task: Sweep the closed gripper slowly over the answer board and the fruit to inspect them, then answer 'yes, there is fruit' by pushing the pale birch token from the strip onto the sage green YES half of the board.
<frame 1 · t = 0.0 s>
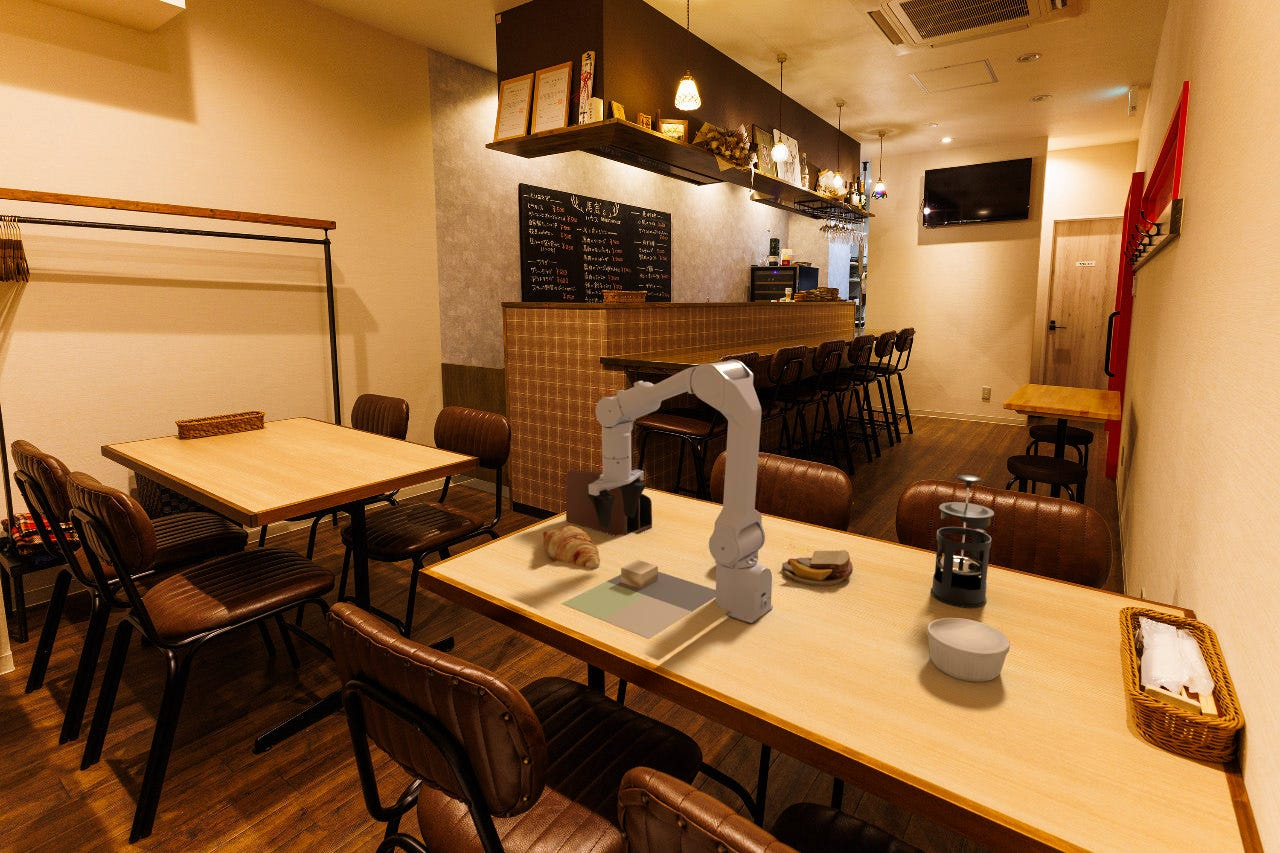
hand: (617, 521, 136), 10 cm above the table, tool pointing down, fingers open, 7 cm apart
letter holder: (608, 526, 164), on the table
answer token: (639, 581, 129), point 1 cm above the table, touching answer board
answer board: (643, 602, 122), on the table
croissant: (569, 559, 144), on the table
toy sandwich meal: (816, 575, 135), on the table
french press: (959, 596, 125), on the table
fruit: (737, 572, 136), on the table
ramekin: (964, 667, 101), on the table
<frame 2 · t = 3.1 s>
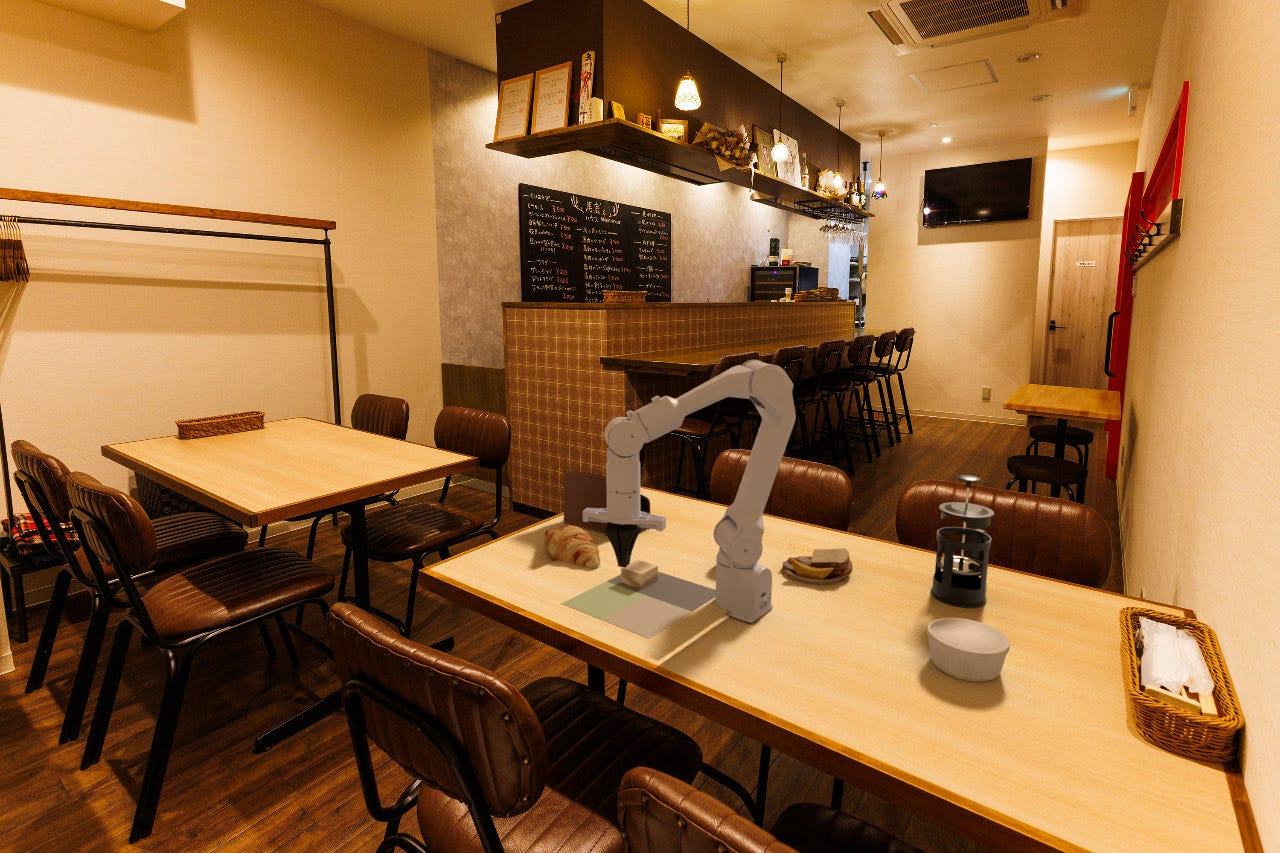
hand: (624, 565, 116), 9 cm above the table, tool pointing down, fingers closed
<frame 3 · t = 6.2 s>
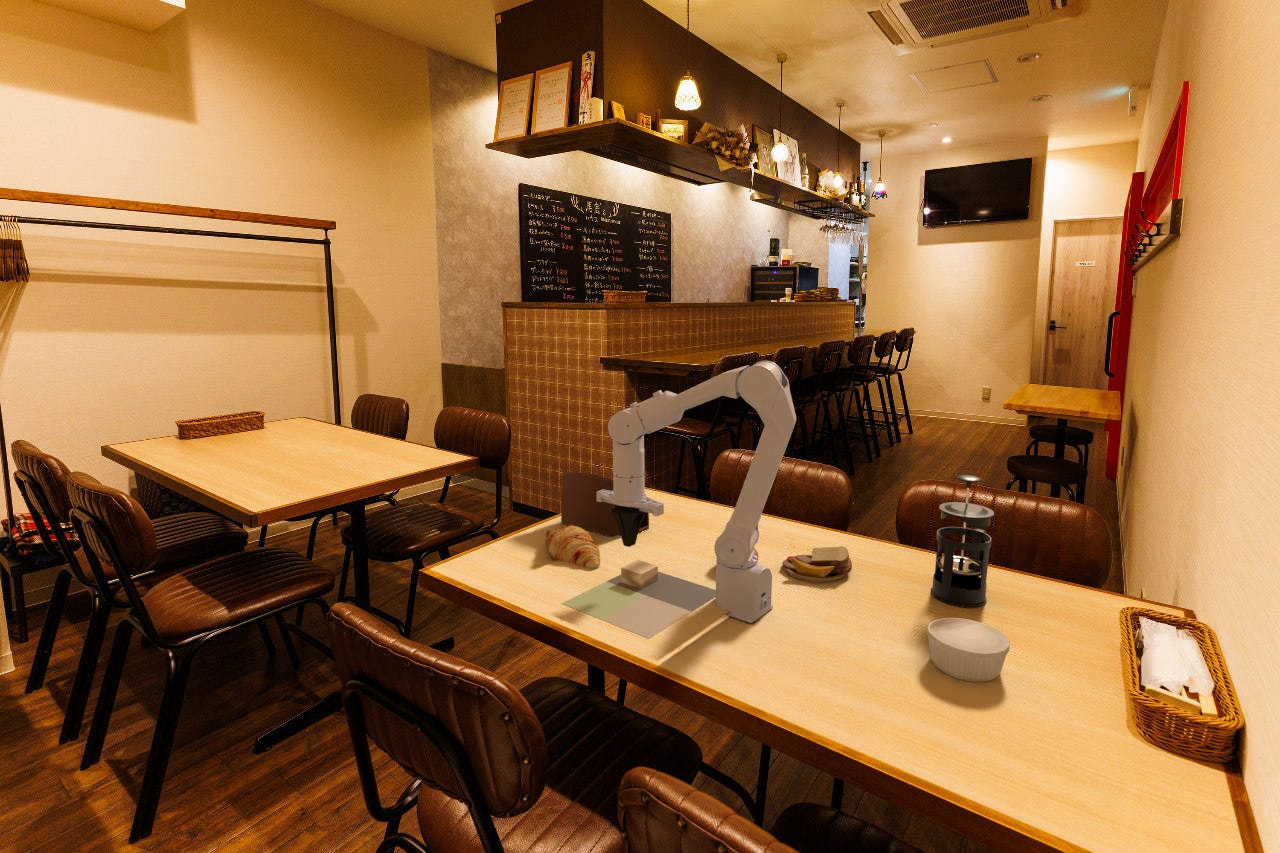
hand: (629, 544, 125), 9 cm above the table, tool pointing down, fingers closed
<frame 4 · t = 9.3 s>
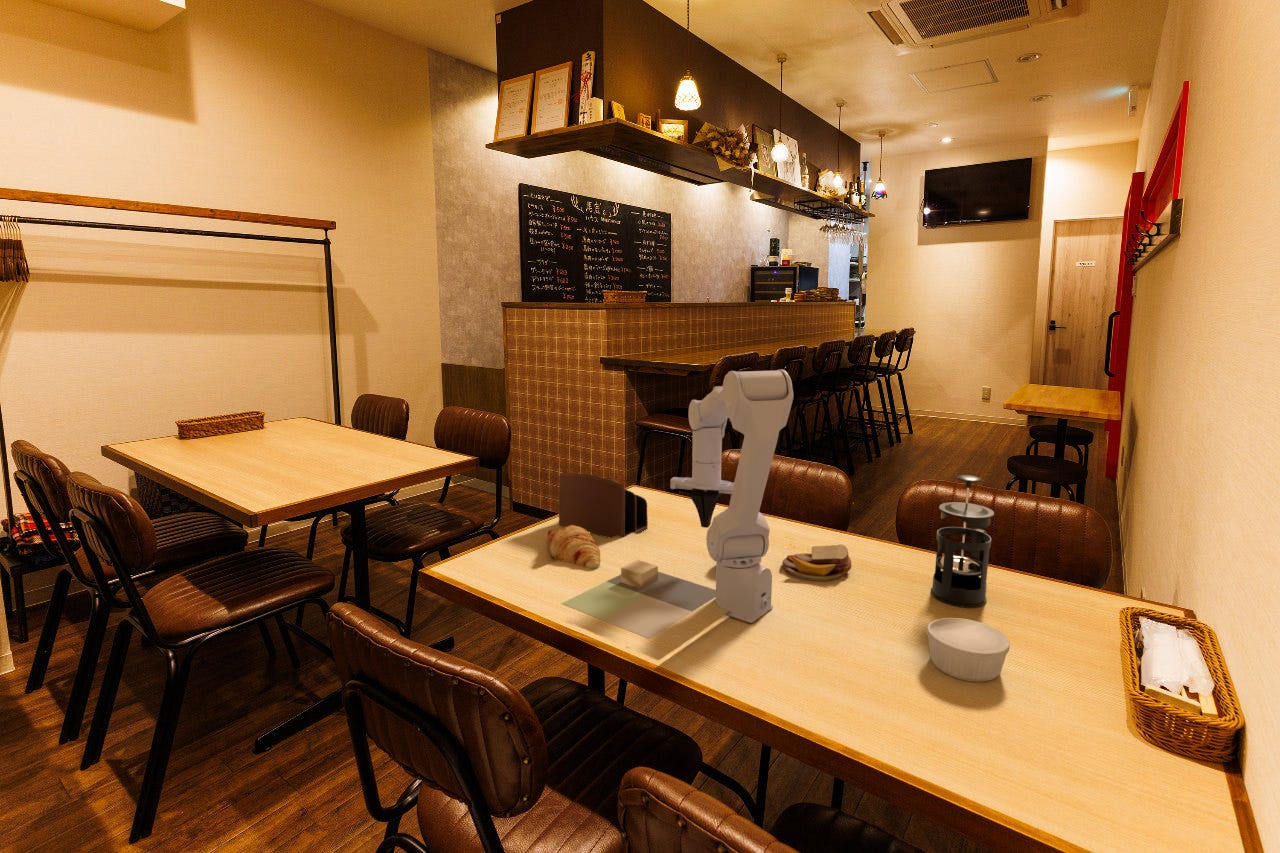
hand: (705, 525, 135), 9 cm above the table, tool pointing down, fingers closed
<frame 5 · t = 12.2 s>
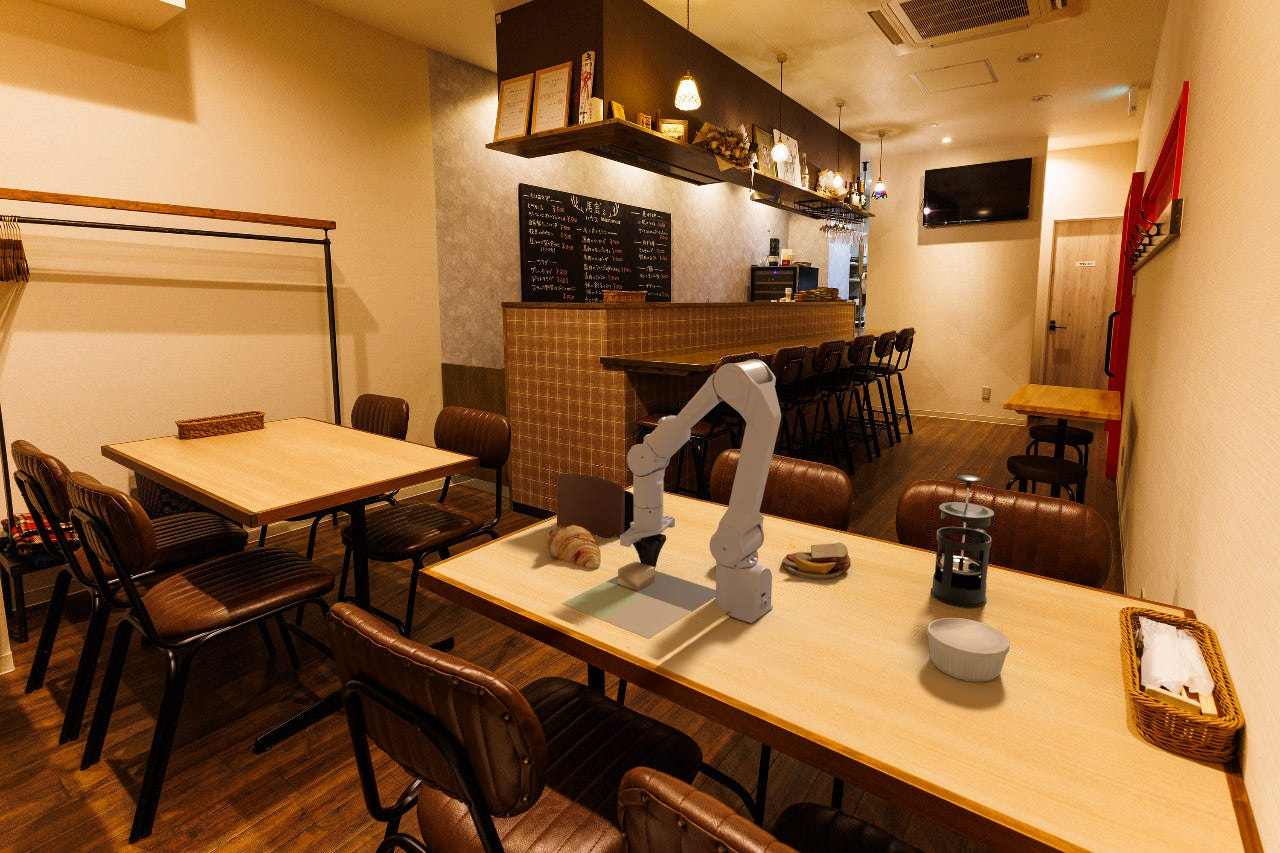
hand: (648, 571, 131), 2 cm above the table, tool pointing down, fingers closed
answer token: (636, 582, 128), point 1 cm above the table, touching gripper
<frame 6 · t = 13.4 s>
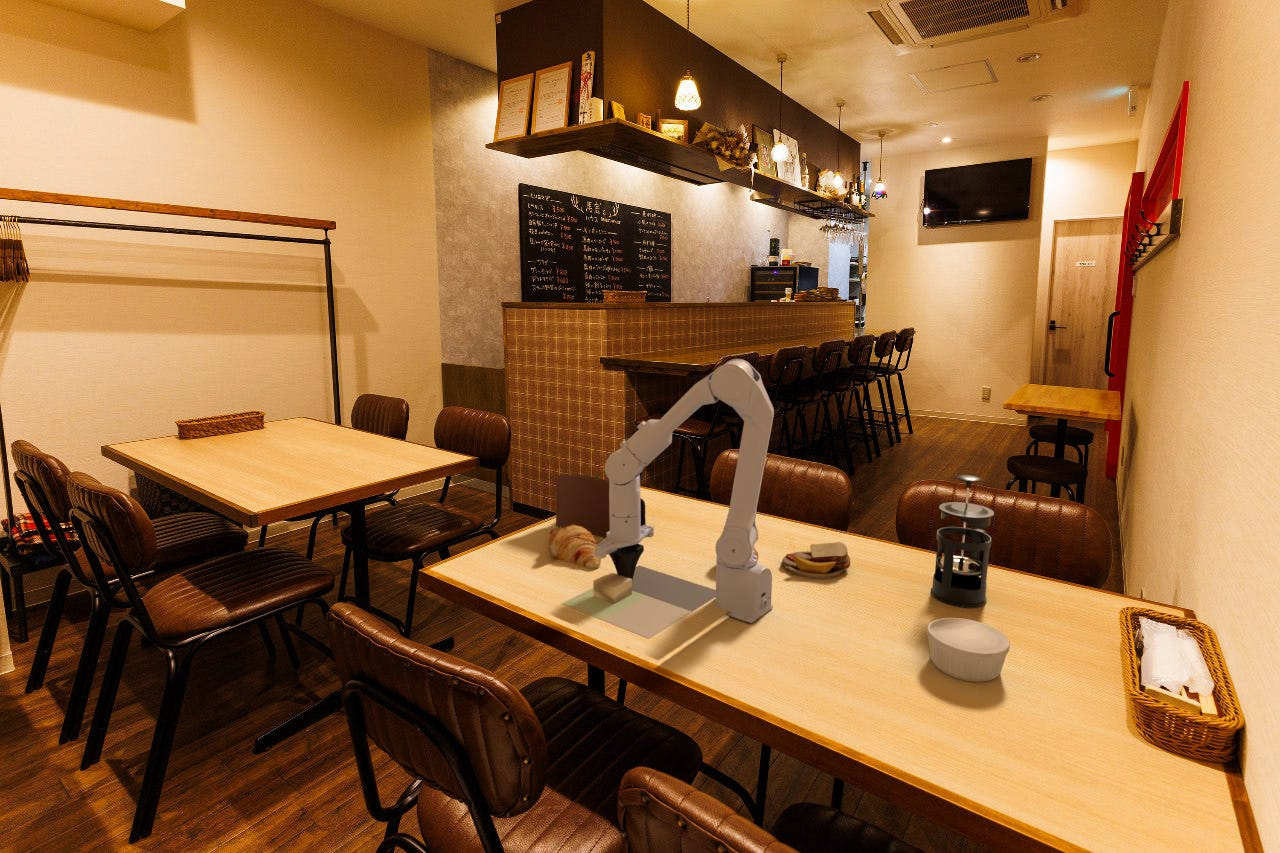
hand: (625, 582, 126), 2 cm above the table, tool pointing down, fingers closed
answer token: (612, 595, 123), point 1 cm above the table, touching answer board, gripper
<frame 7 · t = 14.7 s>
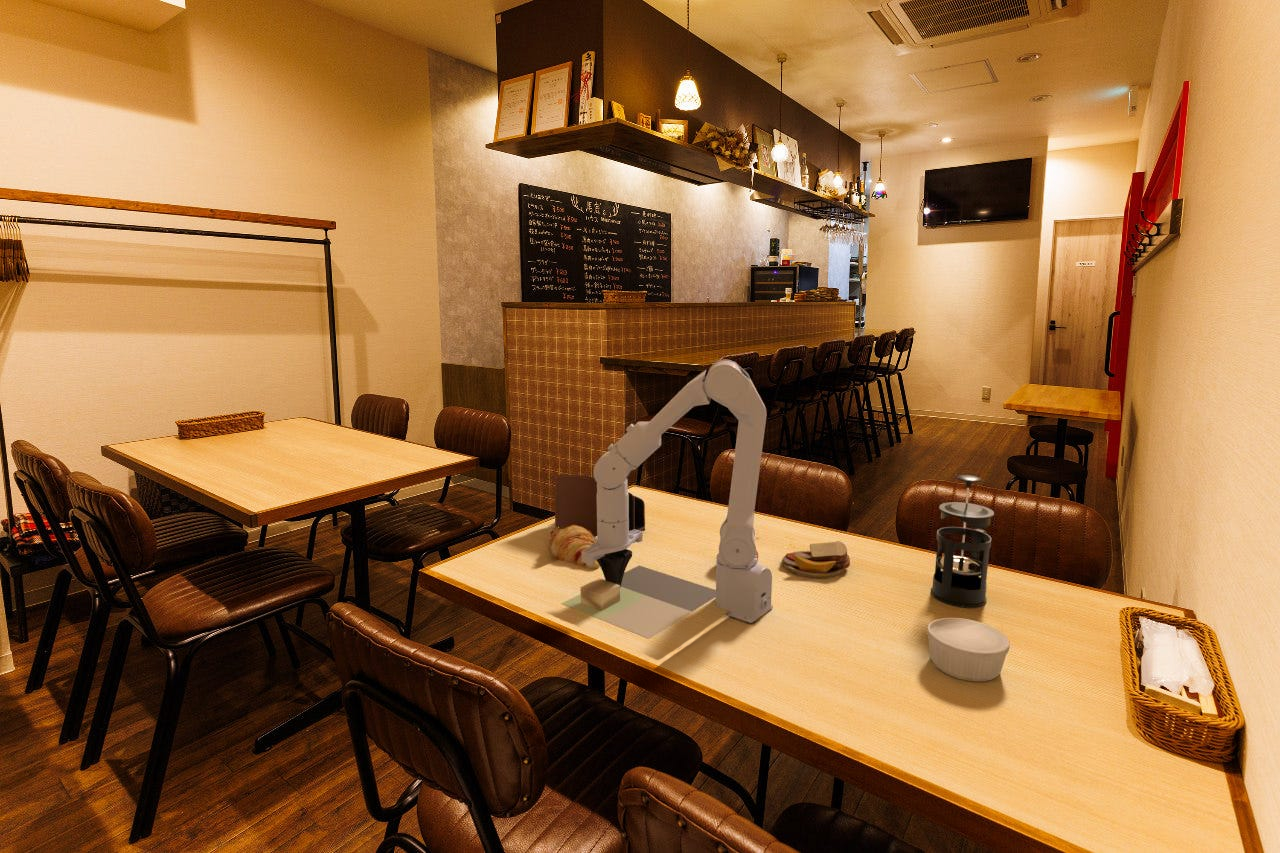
hand: (613, 588, 123), 2 cm above the table, tool pointing down, fingers closed
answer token: (600, 601, 121), point 1 cm above the table, touching answer board, gripper
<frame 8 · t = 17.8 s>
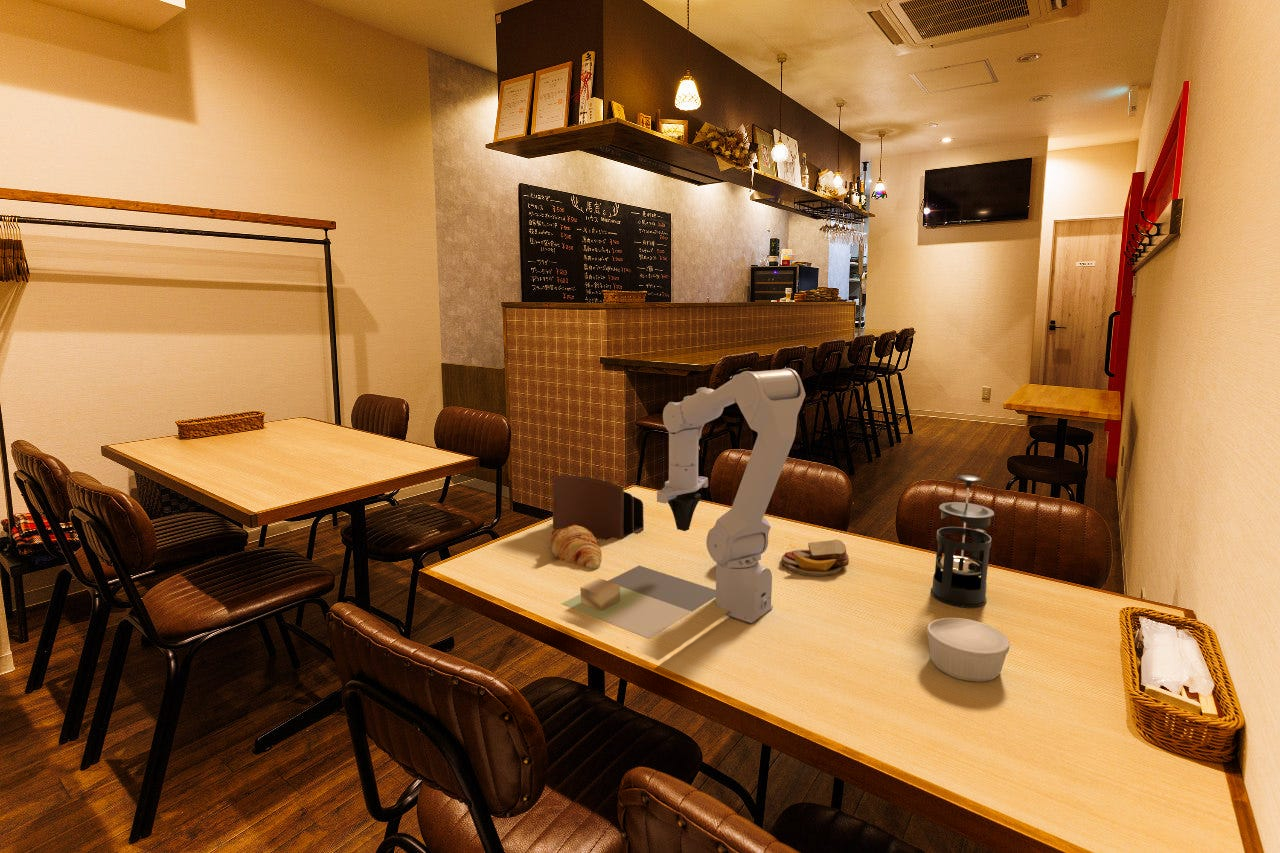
hand: (682, 529, 133), 9 cm above the table, tool pointing down, fingers closed
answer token: (600, 601, 121), point 1 cm above the table, touching answer board
at the end: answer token inside the target area on the answer board (0.7 cm from its centre), point 1.0 cm above the answer board's base; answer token tilted 0°; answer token moved 11.2 cm from its start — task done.
